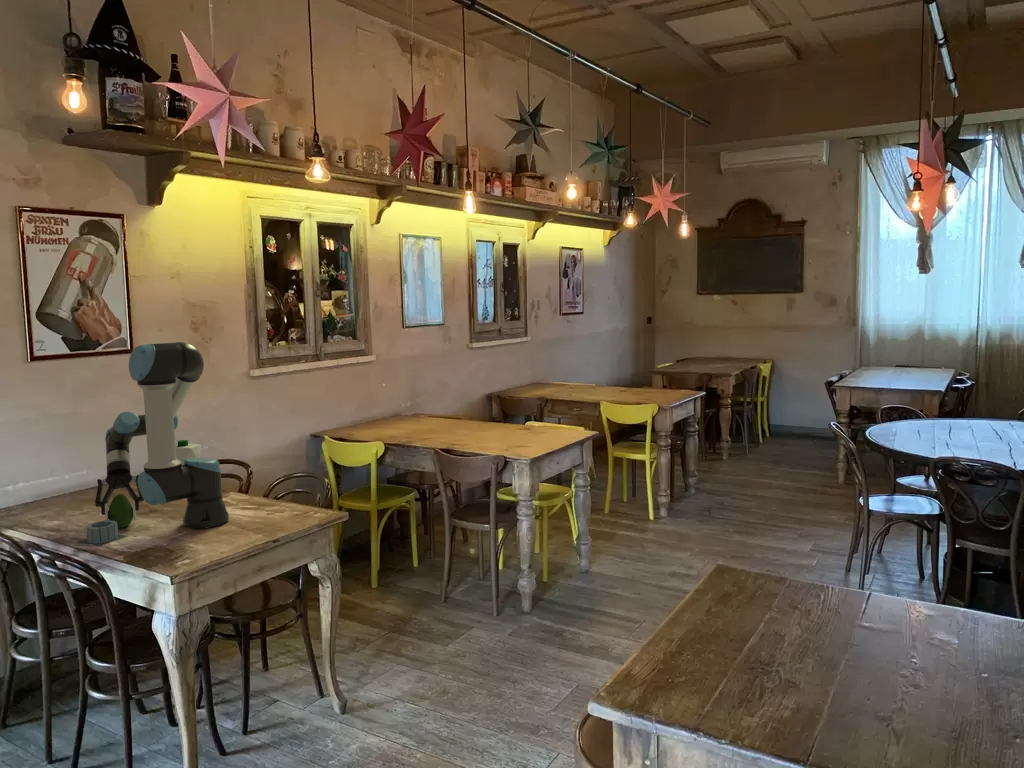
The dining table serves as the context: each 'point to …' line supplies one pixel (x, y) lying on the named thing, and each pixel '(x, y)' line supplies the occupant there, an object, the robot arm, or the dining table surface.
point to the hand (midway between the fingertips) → (120, 520)
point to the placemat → (102, 543)
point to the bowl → (102, 531)
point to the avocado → (121, 511)
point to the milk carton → (187, 450)
